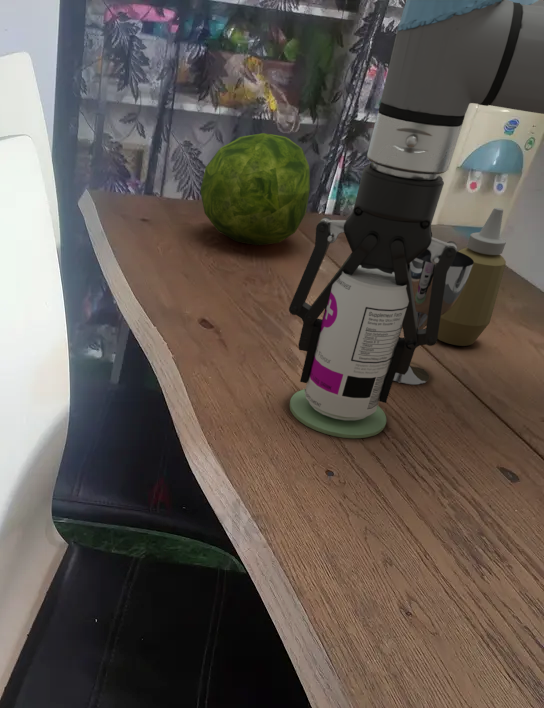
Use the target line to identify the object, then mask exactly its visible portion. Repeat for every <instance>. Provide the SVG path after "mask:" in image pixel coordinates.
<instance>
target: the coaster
mask: <svg viewBox="0 0 544 708" xmlns="http://www.w3.org/2000/svg"><path fill="white" fill-rule="evenodd" d="M305 389H306V388H303V389H301V390H300V389H299V390H298V391H297V392H295V393H294V394H293V395H292V396H291V397H290V401H289V410H290V413H291V414H292V415H293V417H294V418H295V419H296V420H297V421H299V422H300V423H301V424H303V425H304V426H305V427H308V428H309V429H312V430H313V431H316V432H318V433H322V434H324V435H328V436H332V437H337V438H343V439H364V438H370V437H374V436H377V435H378V434H380V433H381V432H382V431H383V430H384V429H385V427H386V424H387V415H386V413H385V412H384V411H383V409H382V408H381V407H380V406H379V405H378V406H377V409H376V412H374V413H373V414H371V415H369V416H367V417H365V418H364V419H360V420H341V419H335V418H332V417H329V416H326V415H323V414H322V413H320V412H318V411H316V410H315V409H314V408H313V407H312V406H311V405H310V403H309V401H308V400H307V399H306V396H305Z"/></svg>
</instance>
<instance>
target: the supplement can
mask: <svg viewBox="0 0 544 708" xmlns="http://www.w3.org/2000/svg"><path fill="white" fill-rule="evenodd" d="M406 286H407V285H404V286H400V285H396V281H395V274H394V272H392V274H390V273H385V272H383V271H381V270H379V269H366V268H361V265H359V267H358V268H357V269H356V270H355V272H354V273H353V274H352V275H348V274H345V273H344V272H343V271H342V275H341V276H340V277H339V278H338V279H337V280H336V281H335V282H334V284H333V285H332V289H331V293H330V297H329V301H328V305H327V307H326V308H325V309H324V311H323V315H322V318H321V319H322V323H321V328H320V333H319V337H318V341H317V345H316V349H315V353H314V357H313V361H312V365H311V369H310V373H309V377H308V381H307V383H306V385H305V388H304V389H305V396H306V399H307V400H308V401H309V403H310V405H311V406H312V407H313V408H314V409H315V410H316V411H318V412H320V413H322V414H323V415H326V416H329V417H332V418H335V419H341V420H360V419H364V418H365V417H367V416H369V415H371V414H373V413H374V412H376V409H377V406H379V403H380V402H379V400H380V396H381V393H382V390H383V387H384V383H385V380H386V377H387V374H388V371H389V368H390V364H391V361H392V358H393V355H394V352H395V348H396V345H397V342H398V339H399V337H401V336H400V335H401V333H402V331H403V325H402V322H403V319H404V315H405V312H406V309H407V306H408V303H409V299H408V295H407V291H406Z"/></svg>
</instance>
